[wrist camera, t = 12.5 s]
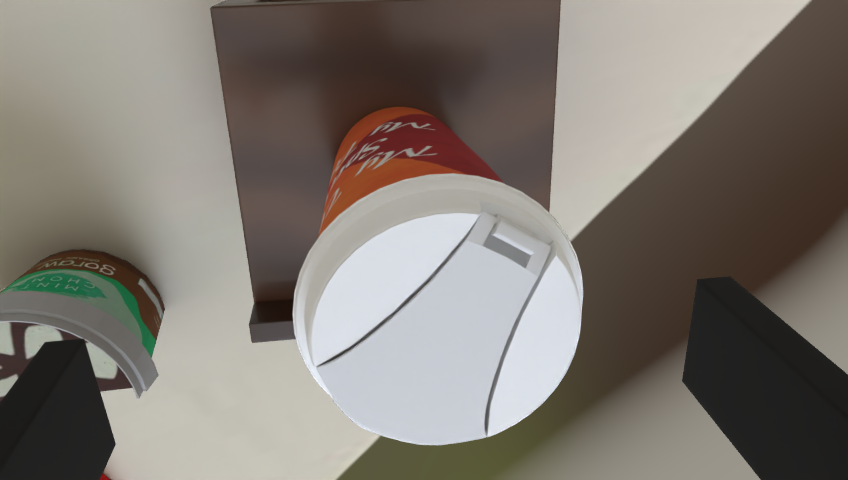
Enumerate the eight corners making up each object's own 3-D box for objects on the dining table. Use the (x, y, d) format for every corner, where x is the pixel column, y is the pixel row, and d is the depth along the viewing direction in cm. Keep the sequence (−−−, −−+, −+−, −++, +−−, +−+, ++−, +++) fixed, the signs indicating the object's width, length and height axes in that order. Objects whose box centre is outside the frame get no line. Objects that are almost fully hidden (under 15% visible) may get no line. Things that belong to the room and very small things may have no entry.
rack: (249, -11, 37) (199, 10, 23) (492, -19, 39) (578, -4, 25) (278, 219, 43) (251, 343, 29) (489, 204, 44) (557, 316, 30)
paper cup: (364, 45, 27) (390, 130, 14) (517, 135, 29) (661, 279, 16) (278, 205, 29) (232, 405, 16) (427, 276, 31) (490, 501, 18)
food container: (167, 222, 42) (121, 297, 33) (187, 306, 44) (149, 397, 35) (-35, 242, 41) (-142, 325, 32) (-4, 327, 43) (-94, 426, 34)
